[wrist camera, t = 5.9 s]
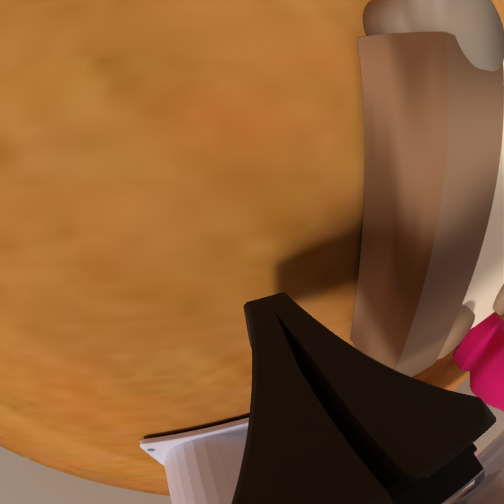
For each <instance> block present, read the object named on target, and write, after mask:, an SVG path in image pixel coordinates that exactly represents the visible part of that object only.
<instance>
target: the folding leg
mask: <svg viewBox="0 0 504 504" xmlns="http://www.w3.org/2000/svg"><path fill="white" fill-rule="evenodd" d="M363 25H364V29H365V33H366V35H367V36H362V37H357V38H358V46H359V56H360V66H361V78H362V91H363V110H364V143H365V173H364V207H363V226H362V241H361V254H360V265H359V275H358V284H357V293H356V301H355V309H354V316H353V323H352V330H351V336H350V340H351V341H352V342H353V344H354V345H355V347H356V348H357V349H358V350H359V351H361V352H362V353H364V354H366V355H367V356H369V357H371V358H373V359H374V360H376V361H378V362H380V363H382V364H384V365H386V366H388V367H390V368H392V369H394V370H396V371H398V372H400V373H402V374H405V375H407V376H410V377H413V376H415V375H417V374H418V373H420V372H422V371H423V370H425V369H427V368H428V367H430V366H432V365H433V364H435V362H436V360H437V358H438V356H439V354H440V352H441V350H442V348H443V346H444V344H445V342H446V340H447V338H448V336H449V334H450V332H451V329H452V327H453V325H454V323H455V320H456V318H457V316H458V313H459V311H460V308H461V306H462V303H463V301H464V298H465V296H466V293H467V290H468V288H469V285H470V282H471V279H472V276H473V273H474V270H475V267H476V264H477V261H478V258H479V255H480V251H481V248H482V244H483V241H484V237H485V233H486V230H487V226H488V222H489V217H490V213H491V208H492V204H493V199H494V194H495V188H496V183H497V176H498V170H499V163H500V155H501V146H502V135H503V119H504V68H503V61H504V30H503V26H502V22H501V19H500V17H499V14H498V12H497V10H496V8H495V6H494V4H493V3H492V1H491V0H371V1H370V2H369V3H368V4H367V5H366V7H365V9H364V13H363Z"/></svg>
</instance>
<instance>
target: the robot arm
mask: <svg viewBox="0 0 504 504" xmlns="http://www.w3.org/2000/svg"><path fill="white" fill-rule="evenodd" d="M244 312H245V318H246V324H247V330H248V335H249V341H250V345H251V348H252V393H251V405H250V415H249V417H248V418H244V419H240V420H237V421H233V422H229V423H225V424H221V425H217V426H213V427H208V428H204V429H199V430H194V431H189V432H184V433H179V434H173V435H168V436H161V437H155V438H148V439H143V440H141V441H140V447H141V448H142V449H143V450H145V451H146V452H147V453H148V454H149V455H151V456H152V457H153V458H154V459H156V460H157V461H158V462H159V463H161V464H162V465H163V466H165V470H166V476H167V481H168V487H169V492H170V497H171V501H172V504H445V503H446V502H447V503H446V504H504V431H503V432H502V433H501V434H500V435H499V436H498V437H497V438H496V439H495V440H494V441H492V442H491V443H490V444H489V446H488V447H486V448H485V449H484V450H483V451H482V452H481V453H480V454H478V455H477V456H475V454H474V453H475V452H476V451H477V447H476V446H475V444H474V443H473V442H474V441H476V440H477V439H478V438H479V437H480V436H481V435H482V434H483V433H485V432H486V431H487V430H488V429H489V428H490V427H491V426H492V425H493V424H494V423H495V422H496V417H495V416H494V415H493V413H492V412H491V411H490V409H489V408H488V407H487V405H486V404H485V403H484V402H483V400H482V399H481V398H479V397H475V396H470V395H466V394H461V393H457V392H453V391H449V390H445V389H442V388H439V387H436V386H433V385H430V384H427V383H425V382H422V381H420V380H417V379H415V378H412V377H410V376H407V375H405V374H402V373H400V372H398V371H396V370H394V369H392V368H390V367H388V366H386V365H384V364H382V363H380V362H378V361H376V360H374V359H373V358H371V357H369V356H367V355H366V354H364V353H362V352H361V351H359V350H358V349H356V348H354V347H353V346H351V345H350V344H348V343H347V342H345V341H344V340H342V339H341V338H340V337H338V336H337V335H335V334H334V333H333V332H331V331H330V330H329V329H327V328H326V327H325V326H323V325H322V324H321V323H319V322H318V321H317V320H316V319H314V318H313V317H312V316H311V315H309V314H308V313H307V312H306V311H305V310H303V309H302V308H301V307H300V306H299V305H298V304H297V303H295V302H294V301H293V300H292V299H291V298H290V297H289V296H288V295H286V294H285V293H279V294H275V295H272V296H268V297H264V298H261V299H257V300H253V301H250V302H246V304H245V305H244ZM474 480H475V483H474V484H473V485H471V486H469V487H468V488H466V489H465V490H463V489H464V488H465V487H466V486H468V485H469V484H470V483H471V482H472V481H474ZM462 490H463V491H462ZM459 492H460V493H459Z"/></svg>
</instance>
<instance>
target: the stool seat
mask: <svg viewBox="0 0 504 504" xmlns="http://www.w3.org/2000/svg"><path fill="white" fill-rule="evenodd" d="M503 68H504V61H503ZM494 312H496V313H497V314H498V315H502V314H504V119H503V135H502V146H501V155H500V163H499V170H498V176H497V183H496V188H495V194H494V199H493V204H492V208H491V213H490V217H489V222H488V226H487V230H486V233H485V237H484V241H483V244H482V248H481V251H480V255H479V258H478V261H477V264H476V267H475V270H474V273H473V276H472V279H471V282H470V285H469V288H468V290H467V293H466V296H465V298H464V301H463V303H462V306H461V308H460V311H459V313H458V316H457V318H456V320H455V323H454V325H453V327H452V329H451V332H450V334H449V336H448V338H447V340H446V342H445V344H444V346H443V348H442V350H441V352H440V354H439V356H438V358H437V360H438V359H441V358H443V357H444V356H446V355H447V354H449V353H450V352H451V351H452V350H454V349H455V348H456V347H457V346H458V345H459V344H460V342H461V341H462V340H463V339H464V338H465V336H466V335H467V334H468V332H469V331H470V329H472V328H473V327H475V326H476V325H477V324H479V323H480V322H482V321H483V320H484V319H486V318H487V317H488V316H490V315H491V314H492V313H494Z"/></svg>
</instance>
